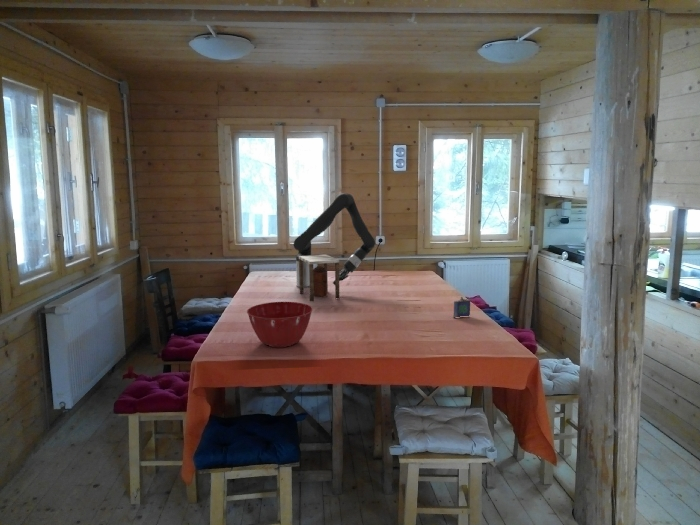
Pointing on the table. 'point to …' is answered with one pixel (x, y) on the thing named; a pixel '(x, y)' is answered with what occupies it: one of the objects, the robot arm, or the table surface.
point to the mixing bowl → (280, 322)
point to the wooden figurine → (320, 281)
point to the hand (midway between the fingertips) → (334, 284)
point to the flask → (462, 307)
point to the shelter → (312, 260)
